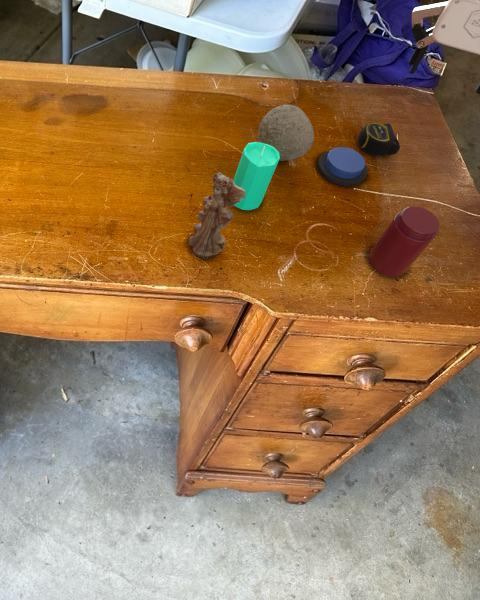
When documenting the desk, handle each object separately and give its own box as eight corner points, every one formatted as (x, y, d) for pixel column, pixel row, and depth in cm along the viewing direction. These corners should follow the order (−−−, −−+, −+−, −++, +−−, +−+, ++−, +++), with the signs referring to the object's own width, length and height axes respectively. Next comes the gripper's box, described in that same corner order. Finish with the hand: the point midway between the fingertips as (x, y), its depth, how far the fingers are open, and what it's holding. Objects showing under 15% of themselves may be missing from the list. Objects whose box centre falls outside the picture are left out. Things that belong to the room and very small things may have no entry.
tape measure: (394, 160, 110) (404, 145, 107) (359, 158, 110) (367, 143, 107) (385, 136, 114) (394, 121, 111) (351, 134, 114) (359, 119, 110)
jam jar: (409, 254, 97) (444, 212, 88) (405, 281, 93) (440, 241, 85) (371, 241, 98) (401, 199, 89) (365, 268, 95) (396, 226, 86)
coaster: (371, 163, 109) (372, 160, 108) (358, 192, 105) (360, 189, 104) (325, 146, 111) (326, 143, 111) (311, 174, 107) (312, 171, 106)
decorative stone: (242, 146, 111) (256, 102, 103) (275, 132, 113) (292, 89, 105) (276, 179, 106) (295, 136, 98) (310, 164, 108) (331, 121, 100)
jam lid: (322, 151, 109) (325, 144, 108) (358, 155, 109) (362, 149, 108) (326, 176, 106) (329, 170, 104) (364, 181, 105) (368, 174, 104)
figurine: (176, 237, 97) (193, 172, 85) (203, 223, 99) (224, 157, 87) (204, 266, 94) (226, 202, 81) (231, 251, 96) (257, 187, 83)
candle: (221, 196, 103) (238, 144, 93) (243, 181, 105) (262, 129, 95) (246, 215, 101) (267, 164, 91) (268, 200, 103) (290, 148, 93)
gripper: (441, -46, 73) (381, 74, 87) (591, -10, 68) (502, 110, 82) (451, -68, 77) (393, 50, 91) (594, -36, 72) (509, 84, 86)
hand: (445, 79), depth 87 cm, fingers open, 9 cm apart
